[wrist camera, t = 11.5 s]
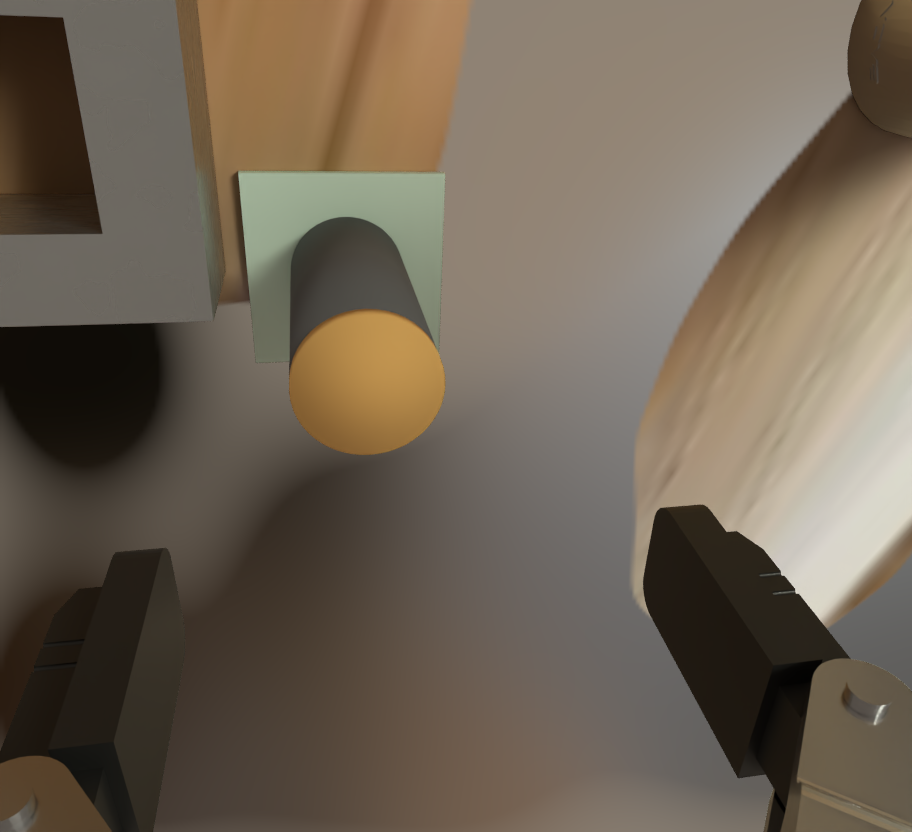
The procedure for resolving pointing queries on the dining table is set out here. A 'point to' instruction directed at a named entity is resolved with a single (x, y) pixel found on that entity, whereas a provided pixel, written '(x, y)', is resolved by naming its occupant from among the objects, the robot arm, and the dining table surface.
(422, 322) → the plug
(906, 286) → the dining table surface
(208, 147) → the housing
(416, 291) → the mat
